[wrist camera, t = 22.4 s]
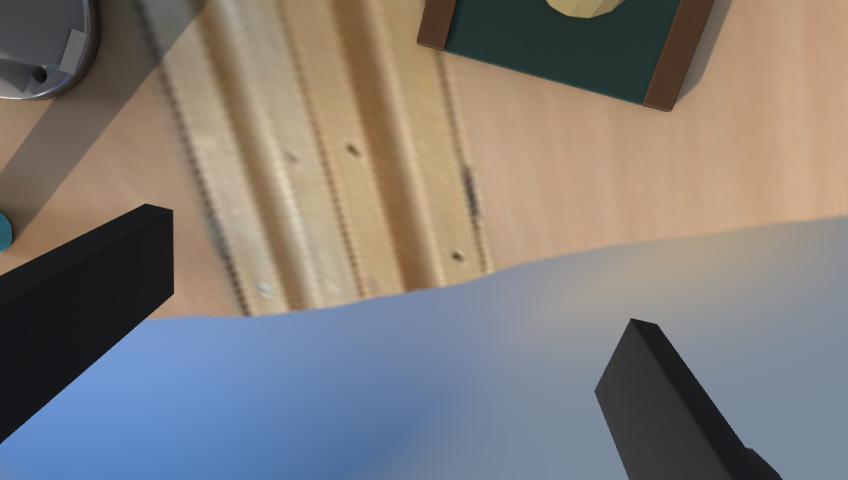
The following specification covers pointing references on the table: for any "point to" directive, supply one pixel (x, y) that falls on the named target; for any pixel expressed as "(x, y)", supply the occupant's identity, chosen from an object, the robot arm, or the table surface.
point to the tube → (5, 233)
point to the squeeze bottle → (584, 7)
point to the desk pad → (576, 43)
